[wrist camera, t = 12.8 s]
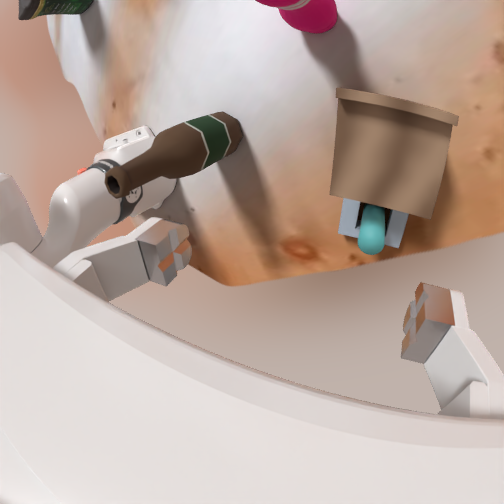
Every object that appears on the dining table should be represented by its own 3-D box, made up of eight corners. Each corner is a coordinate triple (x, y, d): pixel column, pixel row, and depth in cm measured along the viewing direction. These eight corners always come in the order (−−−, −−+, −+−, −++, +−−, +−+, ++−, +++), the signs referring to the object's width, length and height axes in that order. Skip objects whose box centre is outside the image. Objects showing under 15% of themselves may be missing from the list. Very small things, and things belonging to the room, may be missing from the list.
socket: (340, 224, 44) (337, 233, 42) (353, 128, 35) (351, 131, 33) (398, 238, 41) (398, 248, 39) (420, 143, 32) (423, 147, 29)
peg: (365, 197, 40) (360, 227, 33) (386, 202, 39) (387, 234, 31) (361, 217, 42) (355, 251, 35) (382, 222, 41) (380, 257, 34)
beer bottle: (222, 162, 47) (120, 229, 30) (196, 129, 45) (84, 178, 28) (253, 137, 42) (149, 195, 25) (224, 101, 40) (105, 135, 23)
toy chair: (343, 165, 39) (326, 201, 29) (349, 87, 32) (336, 87, 22) (419, 183, 35) (432, 227, 25) (432, 105, 28) (458, 116, 18)
